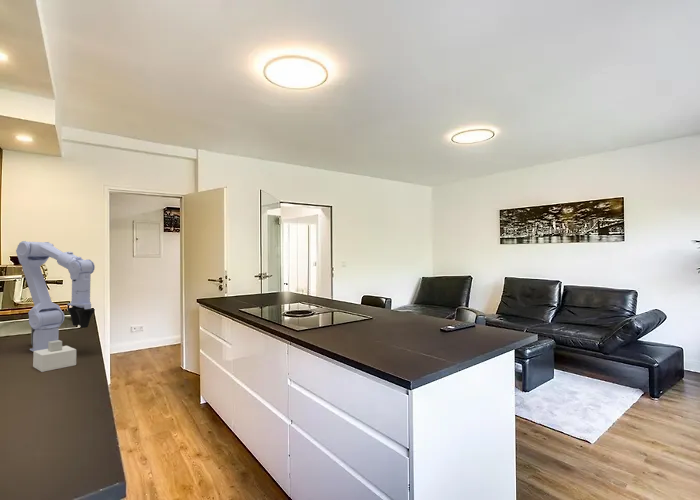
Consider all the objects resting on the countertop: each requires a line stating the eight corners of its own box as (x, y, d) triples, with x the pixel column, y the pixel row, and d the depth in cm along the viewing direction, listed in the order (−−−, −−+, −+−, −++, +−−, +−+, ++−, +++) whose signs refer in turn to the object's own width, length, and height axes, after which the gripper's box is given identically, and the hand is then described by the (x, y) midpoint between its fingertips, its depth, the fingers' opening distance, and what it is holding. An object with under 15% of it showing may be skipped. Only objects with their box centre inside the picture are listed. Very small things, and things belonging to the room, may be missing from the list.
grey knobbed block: (33, 366, 120) (33, 342, 121) (66, 360, 128) (67, 337, 128) (41, 371, 115) (42, 346, 115) (76, 364, 123) (76, 340, 123)
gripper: (61, 290, 138) (60, 325, 138) (75, 293, 130) (74, 330, 130) (83, 289, 144) (82, 323, 144) (97, 291, 136) (97, 327, 135)
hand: (80, 326), depth 137 cm, fingers open, 7 cm apart
